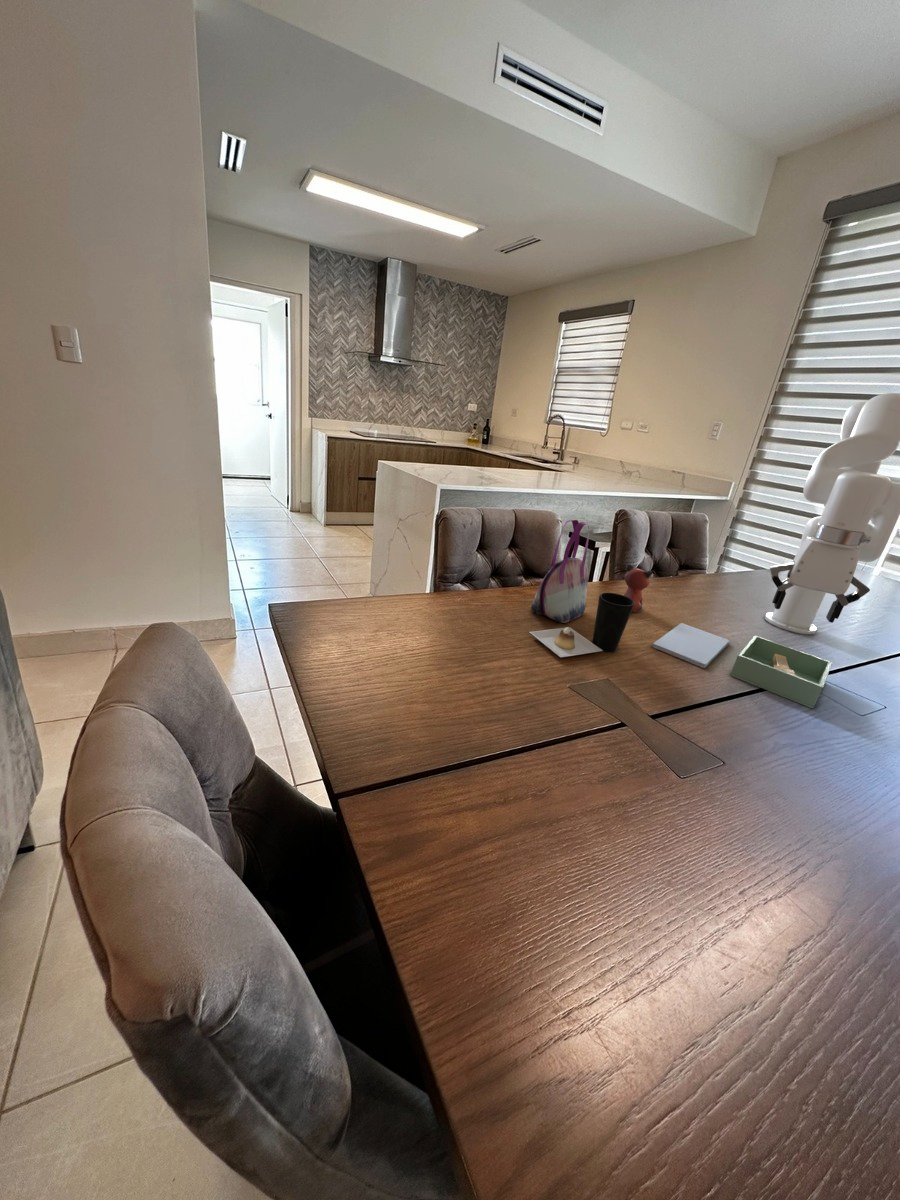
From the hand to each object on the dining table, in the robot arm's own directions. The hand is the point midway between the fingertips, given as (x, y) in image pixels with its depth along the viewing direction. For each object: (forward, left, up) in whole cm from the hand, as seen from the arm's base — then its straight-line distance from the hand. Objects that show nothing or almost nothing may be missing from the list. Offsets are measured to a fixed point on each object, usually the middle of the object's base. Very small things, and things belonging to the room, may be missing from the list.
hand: (802, 613), depth 101 cm
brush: (+2, +1, -15) cm, 15 cm away
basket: (+2, +1, -15) cm, 15 cm away
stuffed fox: (-6, -38, -15) cm, 42 cm away
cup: (+22, -31, -15) cm, 41 cm away
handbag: (+15, -48, -15) cm, 53 cm away
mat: (+2, -18, -15) cm, 24 cm away
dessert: (+30, -37, -15) cm, 50 cm away
